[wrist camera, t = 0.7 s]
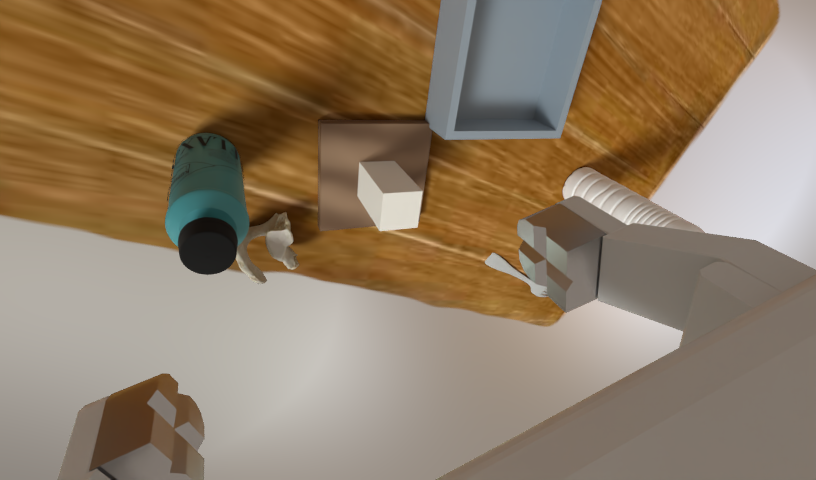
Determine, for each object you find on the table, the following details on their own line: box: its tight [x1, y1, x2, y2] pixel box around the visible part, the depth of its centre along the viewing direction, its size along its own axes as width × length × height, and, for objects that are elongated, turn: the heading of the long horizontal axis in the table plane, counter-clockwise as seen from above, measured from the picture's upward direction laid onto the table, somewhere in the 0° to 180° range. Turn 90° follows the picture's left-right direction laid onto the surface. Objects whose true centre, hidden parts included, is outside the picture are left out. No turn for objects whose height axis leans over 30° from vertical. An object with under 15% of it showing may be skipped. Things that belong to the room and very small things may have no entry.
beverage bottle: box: [165, 133, 249, 275], centre depth 39 cm, size 6×7×20 cm
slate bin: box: [425, 0, 602, 140], centre depth 51 cm, size 17×17×6 cm
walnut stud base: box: [318, 120, 432, 231], centre depth 53 cm, size 14×14×5 cm
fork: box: [485, 253, 547, 297], centre depth 77 cm, size 3×21×3 cm, turn 50°
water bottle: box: [563, 167, 705, 233], centre depth 61 cm, size 9×6×25 cm
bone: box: [236, 212, 299, 284], centre depth 51 cm, size 9×6×10 cm
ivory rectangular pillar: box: [357, 161, 423, 231], centre depth 50 cm, size 5×5×9 cm
